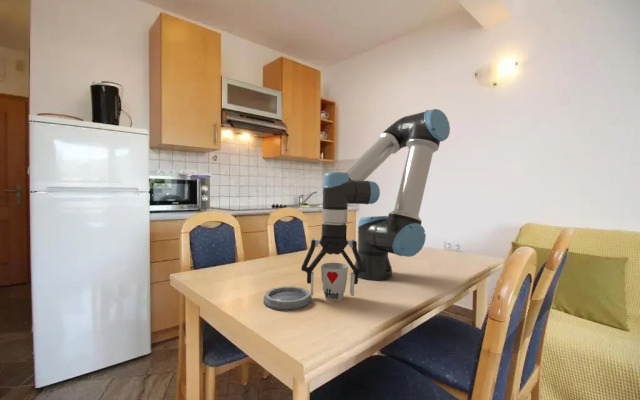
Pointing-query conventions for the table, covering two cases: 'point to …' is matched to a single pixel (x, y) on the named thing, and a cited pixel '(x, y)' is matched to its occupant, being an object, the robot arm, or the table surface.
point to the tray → (287, 298)
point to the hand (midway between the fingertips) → (331, 294)
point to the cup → (334, 280)
